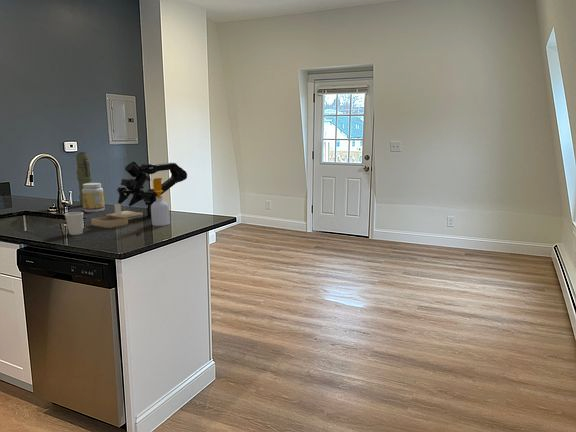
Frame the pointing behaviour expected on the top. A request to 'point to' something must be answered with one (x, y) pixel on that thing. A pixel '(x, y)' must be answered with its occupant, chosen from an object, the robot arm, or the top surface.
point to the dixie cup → (74, 222)
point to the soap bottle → (159, 206)
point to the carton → (109, 221)
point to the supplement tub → (93, 197)
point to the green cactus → (83, 172)
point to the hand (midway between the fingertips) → (123, 205)
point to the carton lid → (123, 213)
